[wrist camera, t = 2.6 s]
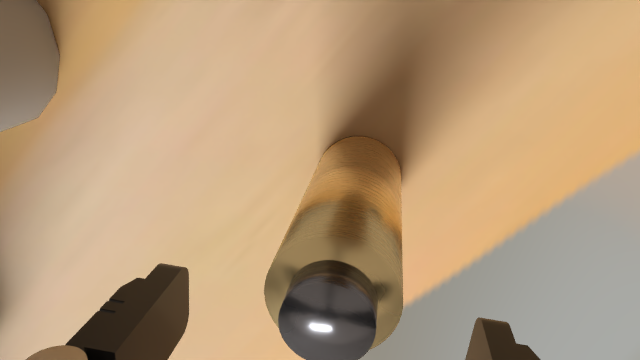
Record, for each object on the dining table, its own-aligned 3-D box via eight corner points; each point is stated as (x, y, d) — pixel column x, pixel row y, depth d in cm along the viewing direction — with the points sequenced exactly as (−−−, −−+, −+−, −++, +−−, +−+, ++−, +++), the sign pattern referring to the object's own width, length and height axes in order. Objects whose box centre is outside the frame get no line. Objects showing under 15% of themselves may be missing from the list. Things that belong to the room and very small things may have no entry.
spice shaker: (313, 139, 22) (240, 262, 12) (398, 132, 22) (398, 258, 11) (322, 215, 24) (265, 384, 13) (403, 212, 23) (407, 387, 13)
